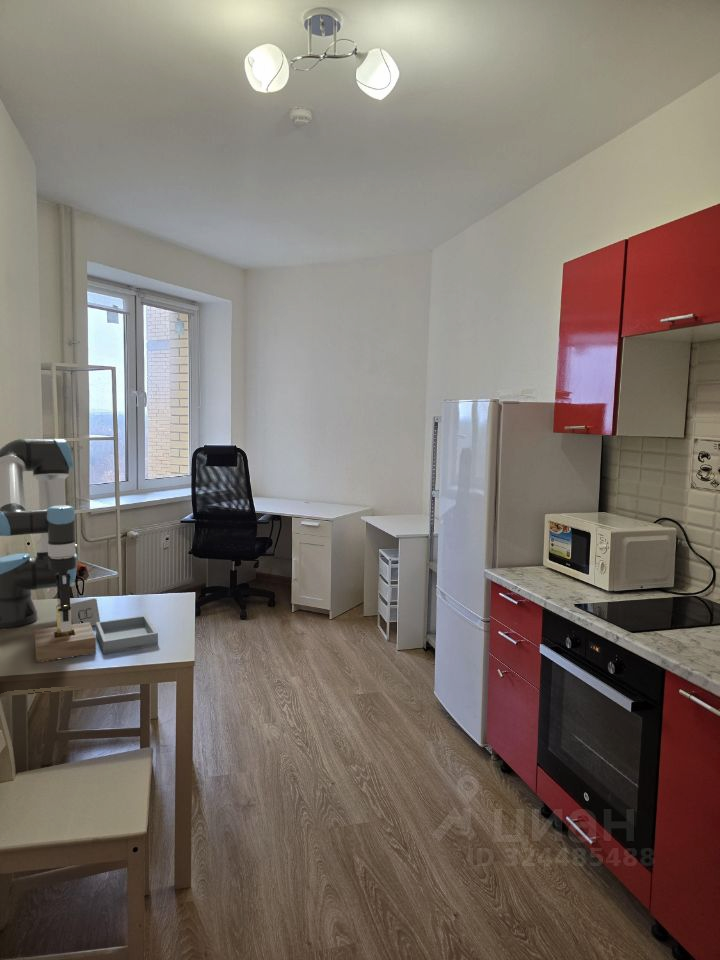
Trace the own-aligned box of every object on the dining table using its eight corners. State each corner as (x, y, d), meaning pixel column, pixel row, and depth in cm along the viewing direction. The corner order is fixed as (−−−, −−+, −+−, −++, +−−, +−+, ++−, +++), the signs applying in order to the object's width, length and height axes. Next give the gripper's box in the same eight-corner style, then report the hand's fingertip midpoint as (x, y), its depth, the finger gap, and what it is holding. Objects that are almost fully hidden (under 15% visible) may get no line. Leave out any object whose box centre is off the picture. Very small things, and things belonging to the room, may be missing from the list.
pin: (57, 648, 186) (56, 604, 185) (71, 645, 188) (70, 602, 187) (58, 652, 183) (56, 608, 181) (72, 650, 185) (71, 606, 183)
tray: (96, 633, 199) (95, 622, 198) (146, 626, 207) (145, 615, 206) (103, 654, 182) (103, 641, 181) (158, 645, 190) (157, 633, 189)
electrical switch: (74, 631, 201) (72, 604, 200) (67, 629, 204) (65, 602, 204) (101, 624, 208) (99, 598, 208) (93, 623, 211) (91, 597, 211)
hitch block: (35, 645, 188) (34, 629, 188) (90, 636, 196) (89, 622, 196) (36, 663, 174) (36, 646, 174) (96, 653, 182) (95, 637, 182)
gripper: (79, 563, 174) (81, 635, 176) (72, 547, 195) (74, 612, 197) (50, 565, 170) (52, 639, 172) (46, 549, 191) (48, 615, 193)
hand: (64, 625), depth 185 cm, fingers open, 12 cm apart
